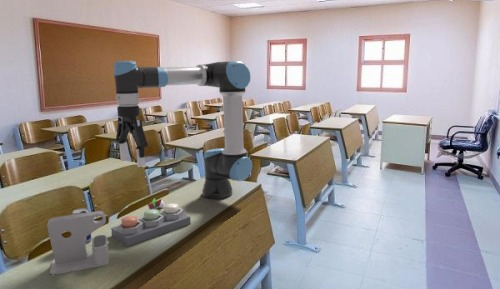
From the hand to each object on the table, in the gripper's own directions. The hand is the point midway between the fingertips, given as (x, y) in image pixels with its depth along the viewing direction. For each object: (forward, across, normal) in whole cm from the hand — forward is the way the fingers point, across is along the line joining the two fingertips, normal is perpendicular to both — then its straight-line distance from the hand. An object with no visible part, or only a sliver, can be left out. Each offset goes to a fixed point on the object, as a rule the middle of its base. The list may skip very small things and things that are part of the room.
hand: (132, 163), depth 132 cm
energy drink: (+28, -8, -17) cm, 34 cm away
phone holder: (+28, +7, -23) cm, 37 cm away
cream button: (+23, +1, +15) cm, 27 cm away
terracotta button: (+23, +1, -3) cm, 23 cm away
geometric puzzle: (+28, -13, +16) cm, 35 cm away
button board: (+28, +1, +6) cm, 28 cm away
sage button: (+23, +1, +6) cm, 24 cm away
